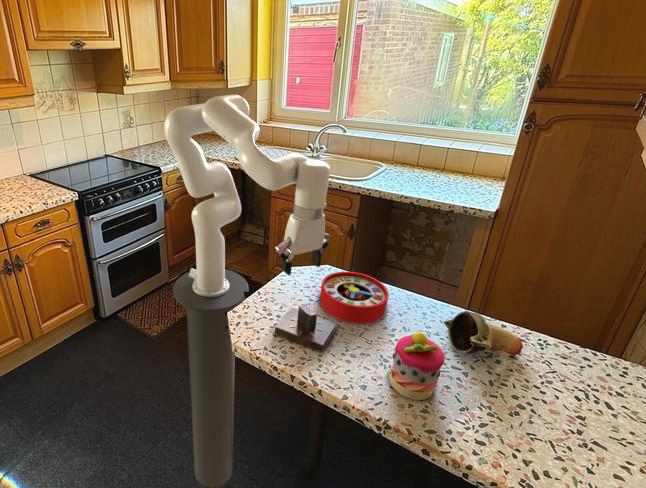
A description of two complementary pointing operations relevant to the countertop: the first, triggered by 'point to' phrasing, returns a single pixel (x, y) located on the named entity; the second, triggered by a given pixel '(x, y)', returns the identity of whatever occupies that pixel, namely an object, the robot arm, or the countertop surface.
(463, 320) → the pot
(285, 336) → the panel
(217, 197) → the robot arm
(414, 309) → the countertop surface
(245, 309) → the countertop surface
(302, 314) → the dial
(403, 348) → the cake
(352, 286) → the toy clock
